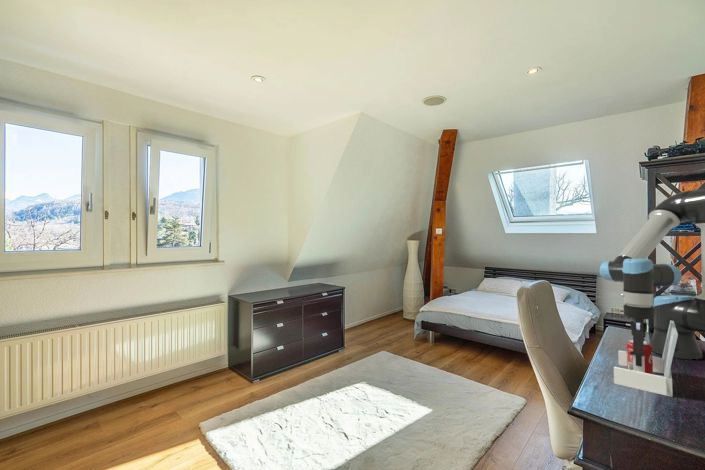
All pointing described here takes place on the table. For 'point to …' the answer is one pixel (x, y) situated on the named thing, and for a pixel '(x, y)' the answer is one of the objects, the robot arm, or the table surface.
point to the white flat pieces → (643, 377)
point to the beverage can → (647, 357)
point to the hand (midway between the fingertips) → (639, 369)
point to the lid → (669, 348)
